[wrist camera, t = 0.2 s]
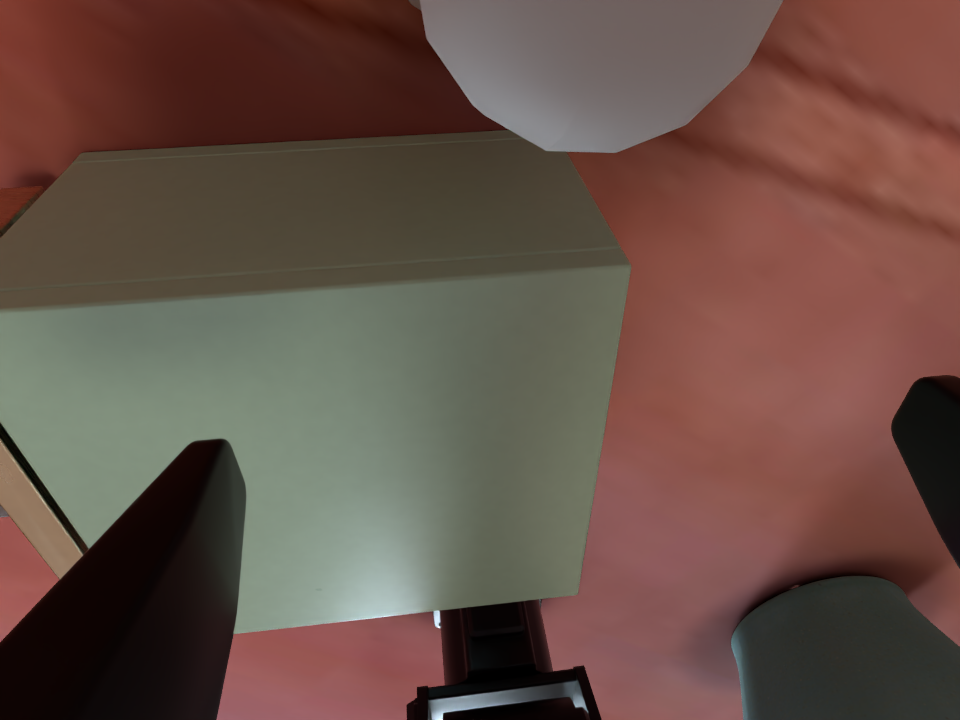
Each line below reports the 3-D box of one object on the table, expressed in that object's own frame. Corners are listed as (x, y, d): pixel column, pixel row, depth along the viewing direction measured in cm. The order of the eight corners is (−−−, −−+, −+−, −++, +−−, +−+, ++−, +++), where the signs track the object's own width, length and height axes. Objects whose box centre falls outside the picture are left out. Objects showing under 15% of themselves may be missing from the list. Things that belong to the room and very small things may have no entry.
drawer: (12, 477, 26) (-80, 635, 21) (-195, 198, 18) (-424, 342, 13) (464, 435, 28) (483, 574, 23) (454, 161, 20) (478, 277, 15)
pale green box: (208, 453, 28) (153, 644, 21) (81, 151, 19) (-78, 316, 13) (534, 424, 29) (578, 595, 23) (553, 127, 20) (633, 265, 14)
